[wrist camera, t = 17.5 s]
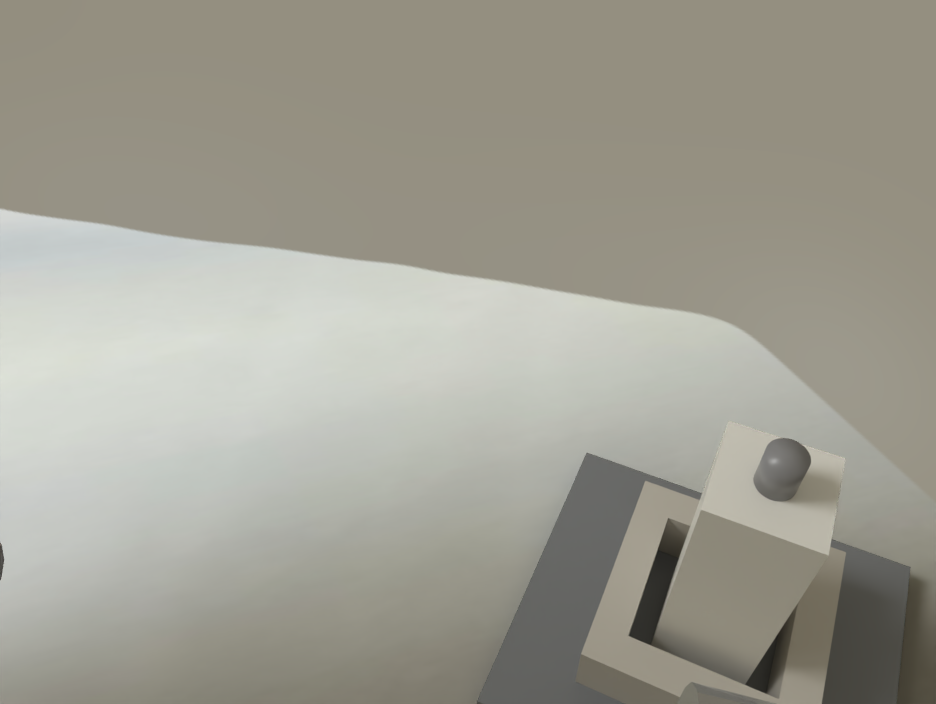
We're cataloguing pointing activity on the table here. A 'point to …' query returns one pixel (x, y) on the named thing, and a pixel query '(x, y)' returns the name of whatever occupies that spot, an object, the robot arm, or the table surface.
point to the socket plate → (641, 600)
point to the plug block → (749, 550)
